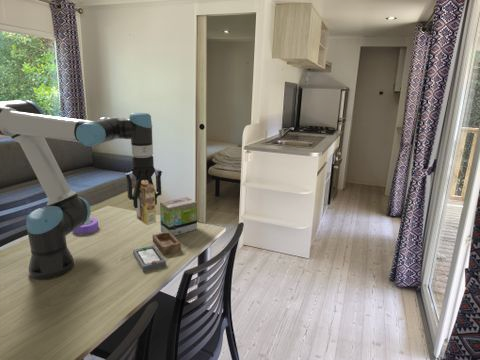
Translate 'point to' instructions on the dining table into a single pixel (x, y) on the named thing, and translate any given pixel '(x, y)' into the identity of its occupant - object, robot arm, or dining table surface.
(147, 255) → the grey rectangular panel
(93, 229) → the masking tape
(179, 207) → the tea box
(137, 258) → the base
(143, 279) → the dining table surface
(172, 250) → the trough
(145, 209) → the candy box
